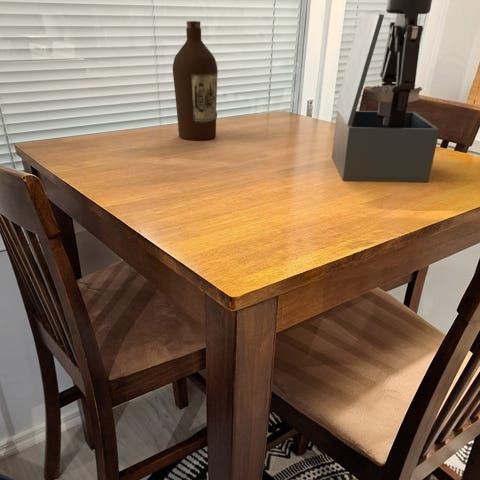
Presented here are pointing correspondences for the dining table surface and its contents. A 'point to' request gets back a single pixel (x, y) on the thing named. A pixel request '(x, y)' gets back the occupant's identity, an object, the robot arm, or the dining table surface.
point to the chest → (384, 148)
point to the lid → (358, 64)
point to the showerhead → (388, 99)
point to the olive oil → (195, 87)
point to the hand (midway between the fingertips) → (389, 123)
